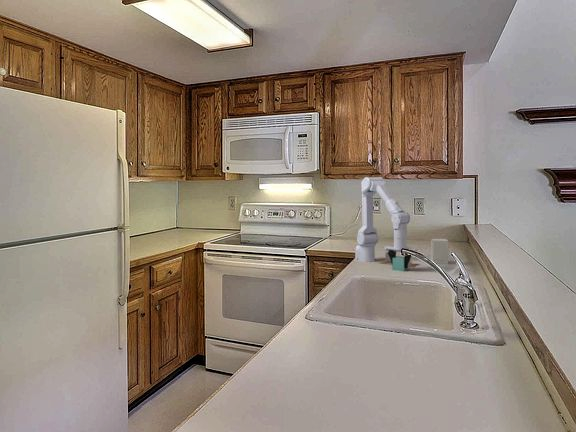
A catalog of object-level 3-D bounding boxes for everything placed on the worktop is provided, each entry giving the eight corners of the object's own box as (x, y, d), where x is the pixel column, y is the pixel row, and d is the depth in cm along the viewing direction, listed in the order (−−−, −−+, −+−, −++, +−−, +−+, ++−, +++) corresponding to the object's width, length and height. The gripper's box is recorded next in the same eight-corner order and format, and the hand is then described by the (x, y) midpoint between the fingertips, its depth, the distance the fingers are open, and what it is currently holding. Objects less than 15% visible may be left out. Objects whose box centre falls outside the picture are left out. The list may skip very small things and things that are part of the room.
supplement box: (448, 266, 191) (448, 240, 190) (432, 266, 193) (432, 240, 192) (445, 263, 199) (446, 238, 198) (430, 262, 200) (430, 238, 199)
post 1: (385, 262, 197) (385, 252, 197) (387, 261, 199) (387, 252, 199) (390, 263, 195) (390, 253, 195) (392, 262, 198) (392, 252, 197)
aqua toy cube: (392, 272, 181) (392, 257, 181) (396, 269, 185) (396, 256, 185) (403, 273, 178) (403, 259, 178) (407, 271, 182) (407, 257, 182)
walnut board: (377, 265, 196) (377, 263, 196) (384, 262, 203) (384, 260, 203) (413, 269, 186) (413, 267, 186) (419, 266, 193) (419, 264, 193)
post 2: (404, 265, 191) (405, 254, 191) (406, 264, 193) (406, 254, 193) (410, 265, 190) (410, 255, 189) (412, 264, 192) (412, 254, 191)
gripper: (381, 238, 181) (381, 267, 183) (413, 240, 173) (412, 270, 174) (387, 236, 187) (387, 264, 188) (418, 238, 179) (417, 267, 180)
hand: (399, 267), depth 182 cm, fingers closed on aqua toy cube, 5 cm apart
